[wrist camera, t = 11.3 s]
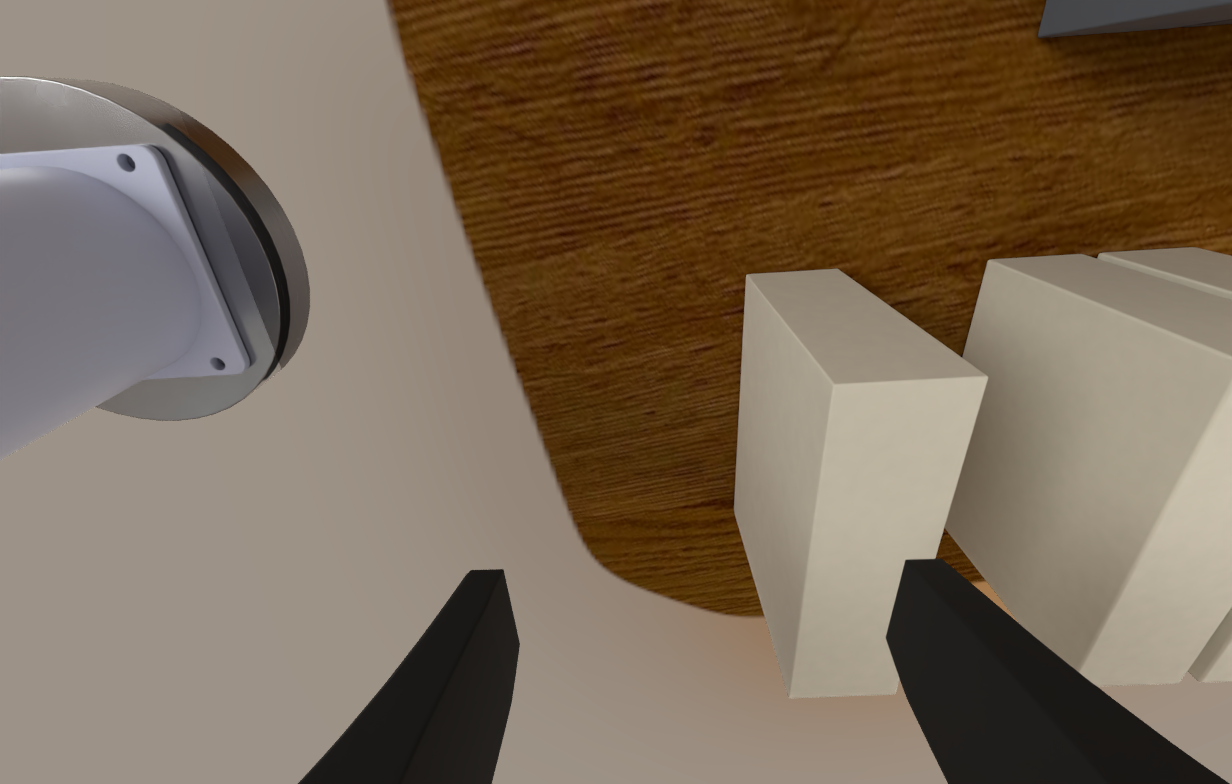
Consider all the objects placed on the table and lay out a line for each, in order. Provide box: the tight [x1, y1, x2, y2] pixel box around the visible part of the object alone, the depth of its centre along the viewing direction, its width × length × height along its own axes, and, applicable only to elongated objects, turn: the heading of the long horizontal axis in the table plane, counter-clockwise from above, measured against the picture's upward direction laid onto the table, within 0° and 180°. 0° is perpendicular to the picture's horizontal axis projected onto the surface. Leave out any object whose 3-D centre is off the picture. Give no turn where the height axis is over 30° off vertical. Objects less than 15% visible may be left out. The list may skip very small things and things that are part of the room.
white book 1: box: [734, 269, 988, 698], centre depth 16 cm, size 3×10×8 cm, turn 4°
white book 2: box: [944, 254, 1232, 686], centre depth 16 cm, size 3×10×8 cm, turn 4°
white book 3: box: [1097, 247, 1232, 683], centre depth 16 cm, size 3×10×8 cm, turn 4°
